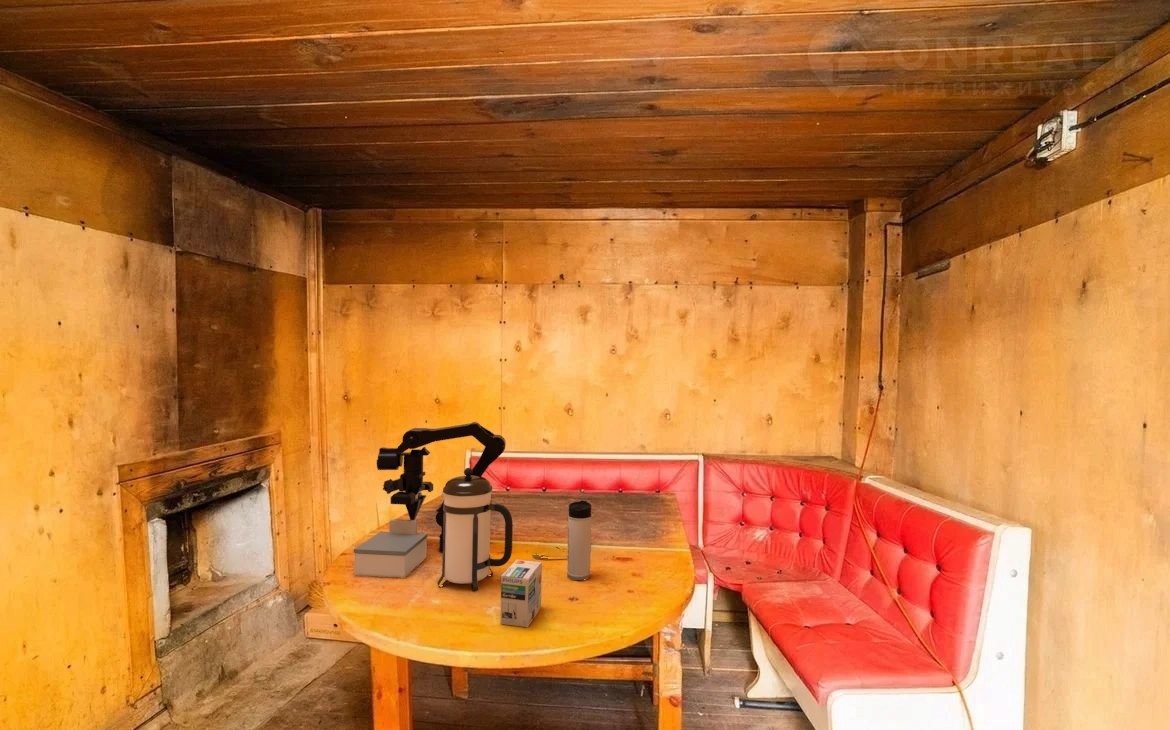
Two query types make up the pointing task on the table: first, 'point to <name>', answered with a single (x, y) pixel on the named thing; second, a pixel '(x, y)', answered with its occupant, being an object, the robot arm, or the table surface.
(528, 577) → the light bulb box
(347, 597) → the table surface
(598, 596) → the table surface
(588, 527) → the travel mug
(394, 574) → the grey parts tub
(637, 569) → the table surface
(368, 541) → the slate lid
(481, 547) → the coffee press
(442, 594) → the table surface
